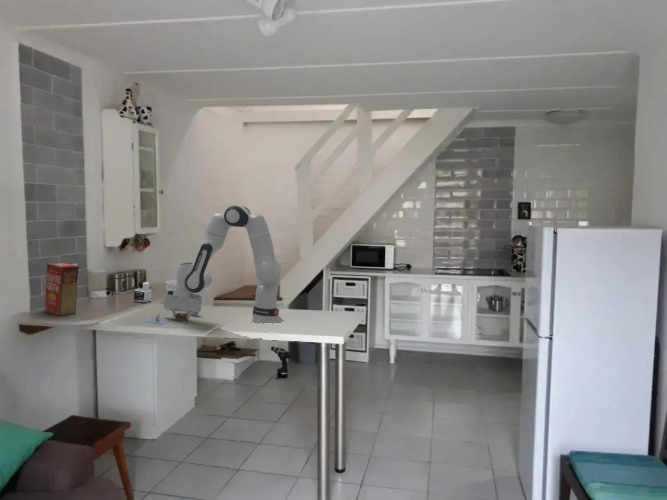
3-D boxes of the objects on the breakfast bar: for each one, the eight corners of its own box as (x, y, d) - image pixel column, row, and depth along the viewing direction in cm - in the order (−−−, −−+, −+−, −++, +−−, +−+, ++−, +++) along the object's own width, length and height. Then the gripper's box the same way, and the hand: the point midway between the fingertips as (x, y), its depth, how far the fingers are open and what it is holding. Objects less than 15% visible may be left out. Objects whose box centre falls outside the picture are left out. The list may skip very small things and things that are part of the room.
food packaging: (43, 310, 252) (46, 262, 250) (60, 308, 260) (63, 261, 258) (59, 316, 246) (62, 267, 244) (76, 313, 254) (80, 266, 252)
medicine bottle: (133, 301, 294) (135, 281, 293) (141, 299, 301) (142, 280, 300) (143, 303, 292) (145, 283, 291) (151, 301, 299) (152, 282, 298)
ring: (188, 319, 266) (189, 314, 265) (184, 321, 260) (184, 316, 259) (178, 317, 266) (178, 312, 266) (173, 320, 260) (173, 314, 260)
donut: (181, 315, 276) (183, 297, 275) (185, 314, 279) (187, 297, 278) (196, 318, 272) (198, 301, 272) (200, 317, 276) (202, 300, 275)
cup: (171, 312, 279) (173, 284, 278) (159, 307, 286) (161, 280, 285) (188, 310, 289) (191, 283, 287) (176, 305, 296) (179, 279, 294)
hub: (170, 322, 260) (171, 312, 259) (161, 326, 250) (162, 316, 249) (152, 319, 261) (153, 309, 260) (143, 323, 251) (143, 313, 250)
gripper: (204, 294, 263) (202, 319, 265) (168, 288, 266) (166, 313, 267) (200, 296, 257) (197, 322, 259) (163, 290, 260) (160, 316, 261)
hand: (181, 317), depth 263 cm, fingers closed on ring, 6 cm apart
